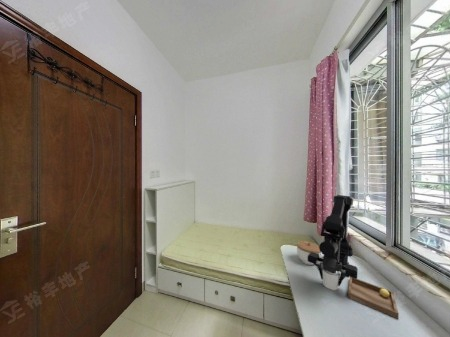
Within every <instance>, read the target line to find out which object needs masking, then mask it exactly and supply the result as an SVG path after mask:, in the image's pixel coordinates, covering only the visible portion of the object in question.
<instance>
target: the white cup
mask: <svg viewBox="0 0 450 337" xmlns="http://www.w3.org/2000/svg"><path fill="white" fill-rule="evenodd" d="M322 274H323V280H322V285H323V286H324V287H326V288H327V289H329V290H332V291H336V290H338V288H339V286H338V283H339V278H340V274H341V272H340V271H338V272H337V271H336V273H335V274H333V273H331V272H329V271H325V270H323V268H322Z"/></svg>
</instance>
